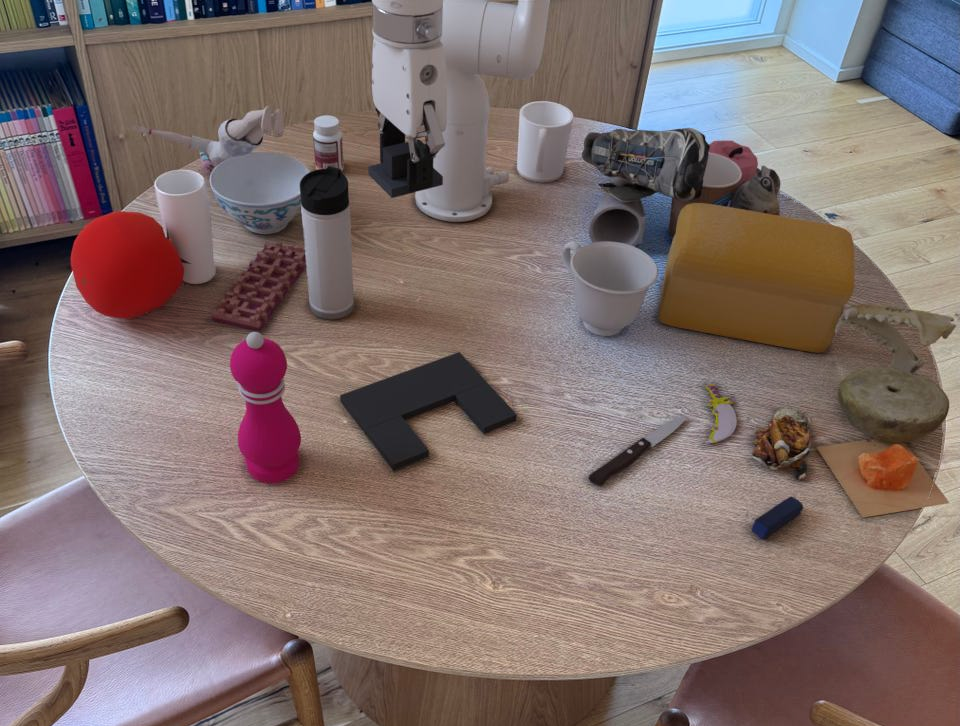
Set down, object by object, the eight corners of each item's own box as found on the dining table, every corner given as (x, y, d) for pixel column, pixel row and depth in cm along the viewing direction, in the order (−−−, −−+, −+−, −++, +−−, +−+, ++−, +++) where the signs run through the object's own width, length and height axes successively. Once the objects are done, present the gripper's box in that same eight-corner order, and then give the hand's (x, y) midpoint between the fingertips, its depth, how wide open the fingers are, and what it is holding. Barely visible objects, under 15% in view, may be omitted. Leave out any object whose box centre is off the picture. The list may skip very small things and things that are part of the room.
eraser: (805, 504, 111) (768, 529, 108) (799, 517, 112) (762, 542, 109) (791, 493, 112) (754, 518, 109) (785, 505, 113) (748, 530, 110)
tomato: (120, 337, 121) (212, 304, 129) (84, 231, 115) (183, 203, 122) (71, 319, 132) (159, 290, 139) (36, 221, 125) (130, 196, 133)
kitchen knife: (600, 483, 112) (588, 474, 113) (599, 489, 113) (587, 480, 114) (692, 416, 122) (680, 408, 123) (690, 422, 122) (678, 414, 123)
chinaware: (274, 261, 140) (269, 215, 134) (196, 228, 144) (188, 183, 138) (334, 216, 149) (331, 171, 143) (258, 186, 153) (253, 142, 148)
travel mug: (362, 298, 135) (357, 171, 121) (342, 324, 131) (335, 196, 116) (322, 287, 136) (313, 161, 122) (302, 313, 132) (290, 185, 117)
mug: (517, 154, 166) (522, 98, 158) (567, 161, 165) (575, 104, 158) (509, 186, 159) (515, 129, 151) (562, 193, 158) (570, 136, 150)
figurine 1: (364, 161, 138) (289, 201, 164) (368, 122, 138) (292, 168, 163) (168, 108, 123) (118, 161, 148) (171, 63, 123) (121, 124, 148)
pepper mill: (245, 443, 115) (222, 312, 100) (304, 442, 115) (290, 312, 100) (240, 487, 110) (214, 356, 95) (302, 486, 111) (287, 356, 96)
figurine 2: (701, 198, 139) (754, 148, 137) (725, 239, 156) (772, 195, 154) (739, 237, 136) (794, 186, 134) (759, 274, 154) (808, 230, 151)
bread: (655, 324, 135) (678, 235, 124) (663, 274, 144) (685, 186, 133) (826, 356, 133) (865, 267, 122) (823, 303, 141) (859, 215, 130)
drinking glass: (210, 292, 134) (193, 198, 123) (165, 284, 135) (144, 190, 124) (228, 265, 139) (213, 173, 127) (185, 258, 139) (166, 165, 128)
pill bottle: (326, 158, 161) (323, 111, 155) (349, 166, 160) (347, 119, 153) (309, 169, 158) (305, 122, 152) (332, 178, 157) (329, 130, 151)
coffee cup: (694, 262, 147) (713, 193, 138) (645, 232, 151) (660, 163, 143) (734, 240, 152) (755, 172, 143) (686, 211, 156) (703, 144, 148)
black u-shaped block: (459, 358, 128) (459, 351, 127) (516, 421, 120) (517, 414, 119) (340, 401, 121) (339, 394, 120) (393, 471, 113) (393, 464, 112)
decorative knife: (743, 444, 119) (704, 441, 119) (742, 446, 120) (703, 444, 119) (730, 384, 127) (693, 382, 127) (729, 387, 127) (692, 384, 127)
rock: (815, 448, 120) (826, 424, 117) (898, 435, 123) (911, 412, 120) (862, 518, 113) (875, 494, 110) (950, 503, 115) (965, 479, 112)
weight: (829, 360, 126) (820, 391, 130) (859, 418, 116) (849, 450, 119) (930, 361, 126) (918, 392, 130) (969, 419, 116) (955, 451, 119)
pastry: (811, 419, 124) (820, 399, 121) (805, 482, 116) (815, 462, 114) (758, 406, 125) (766, 386, 122) (749, 468, 117) (757, 448, 115)
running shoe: (707, 222, 133) (631, 212, 129) (625, 199, 157) (559, 190, 154) (728, 132, 129) (650, 119, 125) (640, 122, 153) (573, 111, 149)
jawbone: (916, 362, 133) (909, 403, 129) (825, 330, 135) (815, 369, 130) (961, 302, 123) (955, 344, 119) (862, 268, 125) (853, 308, 120)
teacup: (584, 279, 142) (594, 221, 135) (661, 327, 135) (676, 269, 128) (529, 311, 136) (537, 252, 128) (607, 362, 129) (620, 303, 122)
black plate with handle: (418, 162, 117) (419, 130, 114) (442, 185, 114) (444, 152, 111) (368, 175, 114) (367, 142, 111) (391, 198, 111) (391, 165, 108)
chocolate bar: (312, 256, 141) (312, 245, 140) (259, 331, 129) (258, 320, 127) (268, 246, 142) (267, 235, 141) (211, 320, 130) (209, 308, 128)
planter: (583, 140, 161) (591, 203, 142) (633, 143, 162) (648, 207, 142) (577, 183, 167) (585, 251, 147) (626, 186, 167) (640, 254, 147)
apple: (754, 194, 162) (771, 140, 154) (736, 216, 157) (752, 161, 149) (703, 176, 165) (718, 122, 158) (683, 197, 160) (697, 142, 152)
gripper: (479, 46, 97) (469, 202, 110) (399, -13, 107) (399, 138, 120) (416, 58, 94) (413, 217, 107) (339, -3, 104) (345, 150, 117)
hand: (405, 174), depth 113 cm, fingers closed on black plate with handle, 6 cm apart
